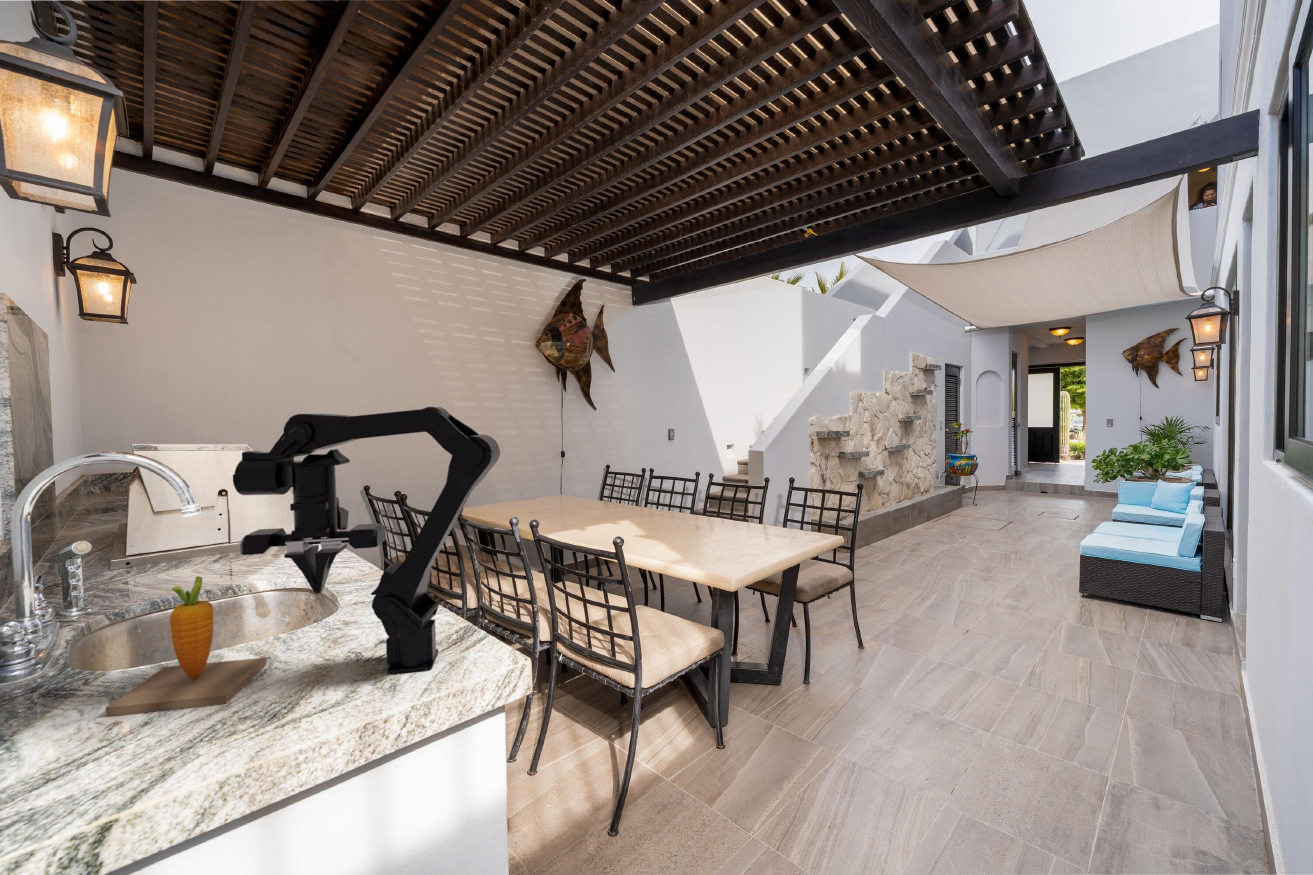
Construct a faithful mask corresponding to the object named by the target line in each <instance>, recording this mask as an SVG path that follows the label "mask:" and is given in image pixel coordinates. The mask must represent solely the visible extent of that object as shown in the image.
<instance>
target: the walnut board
mask: <svg viewBox="0 0 1313 875" xmlns="http://www.w3.org/2000/svg"><path fill="white" fill-rule="evenodd" d="M267 661H268V660H267V657H258V658H248V659H236V660H226V661H216V662H215V661H214V662H213V661H212V662H206V665H205V667H204V669H203V671H202V673H201V675H200V677H199V678H198V679H197V680H193V679H191V678H190V677H189V676H188V675H187V674H186V673H185V672H184V670H183V669H182V667H181V666H180V665H174V666H173V665H172V666H164V667H162V668H160V669H159V670H158V671H156V672H155V673H153V674H152V675H151V676H149V677H148V678H146V679H145V680H143V681H141V682H140V684H138V685H136V686H135V687H134V688H132V689H131V690H130V691H128V692H126V693H125V694H124V695H122V696H121V697H119V698H118V699H117V700H115V701H113V702H112V703H110V704H109V705H108V706H107V707H105V715H106V716H105V717H116V716H123V715H124V716H125V715H130V714H131V715H132V714H135V715H136V714H141V713H152V712H160V711H161V712H163V711H168V710H169V711H170V710H179V709H181V710H182V709H187V708H188V709H189V708H196V707H198V708H199V707H207V706H216V705H223V704H224V705H225V704H228V703H229V702H230V701H231V700H232V699H233V697H235V696H237V695H238V693H239V692H240V691H241V690H242V689H243V688H244V687H246V685H247V684H249V682H251V680H253V679H254V678H255V677H256V676H257V675H258V674H259V673H260V672H261V671H262V670H263V669H264V668H265V667H266V666H268V665H267V664H268V663H267Z"/></svg>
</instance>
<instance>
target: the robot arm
mask: <svg viewBox="0 0 1313 875" xmlns="http://www.w3.org/2000/svg"><path fill="white" fill-rule="evenodd" d="M415 433H416V434H417V433H427V434H428V435H429V436H431V437H432V438H433V439H434V440H435V442H437V444H438V445H440V447H441V448H442V449H444V451H445V452H447V453H448V454H450V455H451V458H450V461H449V464H448V469H447V475H446V480H445V481H446V482H445V484H444V487H443V488H442V490H441V492H440V494H439V495H438V498H437V499H436V501H435V503H434V506H433V507H432V509H431V511H430V512H429V514H428V517H427V518H426V520H425V521H424V524H423V526H422V528H420V531H419V533H418V535H417V537H416V538H415V540H414V542H413V544H412V546H411V548H410V550H409V552H408V553H407V555H406V557H405V559H404V561H403V562H402V561H400V560H398V561H396V562H395V563H393V564H392V565H390V566H389V567H388V568H386V569H385V570H384V571H383V572H382V574H381V576H380V579H379V583H378V585H377V587H376V588H375V589H374V590H373V591H372V592H371V593H370V595H371V596H374V597H373V598H372V601H371V609H372V610H373V613H374V615H375V616H376V617H377V619H378V620H380V622H381V623H382V626H383V629H384V630H385V631H384V632H385V633H386V636H387V638H386V640H385V645H386V646H385V649H386V650H385V651H386V664H387V666H389V667H388V668H387V674H396V673H397V674H398V673H406V672H407V673H408V672H416V671H425V670H427V671H428V670H431V669H433V668H434V665H435V662H436V659H437V657H438V654H439V649H437V640H436V639H437V636H436V635H437V634H436V619H433V617H434V616H435V617H436V615H437V612H438V609H439V606H440V602H438V600H436V599H435V598H434V597H433V596H432V595H431V594H429V593H428V592H427V589H428V585H429V583H430V577H431V576H430V575H431V570H432V566H433V564H434V563H435V561H436V558H437V556H438V555H439V552H440V551H441V550H442V547H443V546H444V544H445V542H446V539H448V536H449V534H450V532H451V531H452V529H453V528H454V525H455V524H456V521H457V520H458V517H459V516H460V514H461V512H462V510H463V509H464V506H465V505H466V503H467V502H468V499H469V497H470V496H471V493H472V492H473V491H474V490H475V488H476V487H477V486H479V484H480V483H481V482H482V481H483V480H484V478H485V477H486V476H487V475H488V474H489V472H490V471H492V469H493V467H494V466H495V465H496V464H497V462H498V461H499V459H500V455H501V450H500V446H499V444H498V441H496V440H495V438H493V437H492V436H491V435H487V434H480V433H478V432H477V431H476V430H474V429H473V428H472V427H471V426H469V425H467V424H465V423H464V422H462V421H461V420H460V419H458V418H456V417H455V416H453V415H452V414H451V413H450V412H448V410H447V409H446V408H444V407H442V406H426V407H424V408H420V409H409V410H402V411H401V410H400V411H393V412H392V411H391V412H383V413H382V412H381V413H371V414H362V415H361V414H360V415H348V414H347V415H346V414H337V413H335V414H333V413H298V414H294V415H291V416H289V418H288V420H287V421H286V422H285V424H284V427H283V433H282V435H280V437H279V438H278V440H277V441H276V442H275V443H274V445H273V447H272V448H271V449H270V451H266V452H265V451H260V450H249V451H243V452H242V453H241V460H240V461H239V462H238V463H237V464H236V467H235V470H234V473H233V474H232V482H233V486H234V489H235V491H236V492H237V493H238V494H239V495H241V496H269V495H271V496H272V495H273V496H274V495H276V496H277V495H278V496H279V495H286V494H287V493H288V492H289V491H290V489H291V488H292V500H293V501H292V503H290V511H293V523H294V524H293V526H294V529H292V530H291V533H287V532H286V531H285V529H284V528H283V527H280V528H279V527H278V528H262V529H261V528H259V529H257V530H254V531H253V532H250V533H248V534H246V535H244V537H243V538H242V539H241V541H240V545H239V546H240V555H242V556H251V555H252V556H253V555H264V554H265V553H267V551H269V549H270V548H271V547H272V548H273V547H274V548H275V547H286V548H285V549H286V553H284V554H283V555H284V558H285V559H291V561H292V562H293V564H294V565H296V567H297V568H298V569H299V571H300V572H301V573H302V574H303V576H304V578H305V580H306V581H307V583H308V584H309V587H310V588H311V589H312V591H313V593H314V594H321V593H323V591H324V588H325V585H326V583H327V580H328V577H329V573H330V571H331V567H332V565H333V563H334V561H335V559H336V557H337V555H339V554H340V553H341V552H343V551H344V550H346V548H348V545H349V546H350V547H351V548H353V550H355V549H357V550H359V549H372V548H378V547H379V546H380V545H381V544H383V542H384V541H385V540H386V539H387V537H386V527H385V526H384V525H383V524H382V523H380V522H379V523H365V524H364V523H361V524H357V525H356V526H354V527H353V528H351V529H350V530H348V527H349V512H350V511H349V510H348V509H346V508H344V507H341V506H340V500H339V496H337V486H336V485H337V484H336V481H337V480H336V466H340V465H346V464H349V463H351V462H350V461H351V460H350V458H348V457H347V456H345V455H344V454H343V453H341V452H340V450H339V449H337V448H335V449H331V448H334V447H337V446H341V445H345V444H348V443H351V442H353V441H357V440H361V439H369V438H370V439H371V438H378V437H380V438H381V437H389V436H397V435H399V436H400V435H407V434H415ZM326 449H329V451H328V452H327V453H320V454H319V453H318V454H317V453H315V452H316V451H319V450H326ZM314 453H315V454H314ZM304 456H305V457H304ZM296 457H297V458H298V457H304V458H303V459H302V460H295V458H296ZM319 547H321V549H319Z"/></svg>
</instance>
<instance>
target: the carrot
mask: <svg viewBox="0 0 1313 875" xmlns="http://www.w3.org/2000/svg"><path fill="white" fill-rule="evenodd" d="M202 584H203V577H202V576H200V575H199V576H195V579H194V585H193V587H192V589H191V591H189V590H186V591H185V590H183V588H182V587H181V586H179V585H177V586H173V587H172V588H171V591H173V592H175V593H176V594H177V595H178V596H179V598H180V600H181V601H182V602H183V603H182V604H179V605H177V606H175V608H174V609H172V611H171V613H170V617H169V620H170V633H171V639H172V640H171V641H172V646H173V650H174V653H175V656H176V658H177V661H178V664H179V666H181V667H182V669H183V670H184V672H185V673H186V674H187V675H188V676H189V677H190V678H191V679H193V680H197V679H198V678H199V677H200V675H201V673H202V671H203V669H204V667H205V665H206V663H208V659H209V656H210V653H211V649H212V641H213V636H214V607H213V604H212V603H211V602H210V601H204V600H198V599H199V597H200V592H201V589H202Z"/></svg>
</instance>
